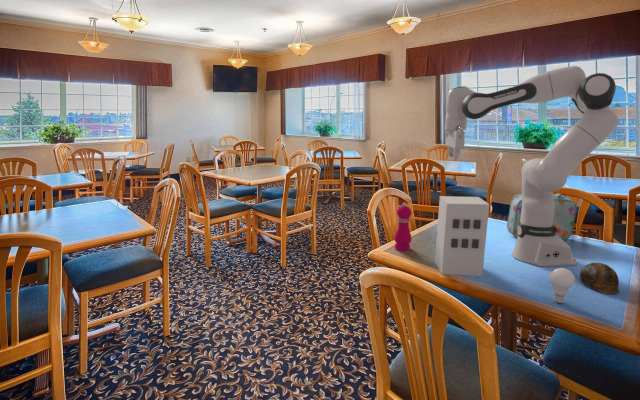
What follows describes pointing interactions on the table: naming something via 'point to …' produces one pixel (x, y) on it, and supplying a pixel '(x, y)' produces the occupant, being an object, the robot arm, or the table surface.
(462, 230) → the cabinet
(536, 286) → the table surface
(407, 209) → the pepper mill
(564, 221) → the lunch box
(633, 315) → the table surface
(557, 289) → the lightbulb
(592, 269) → the seashell
